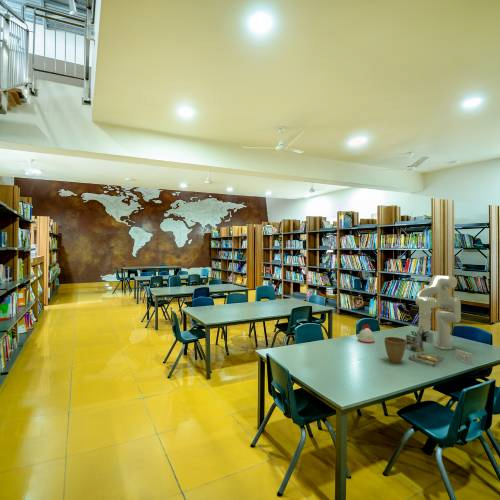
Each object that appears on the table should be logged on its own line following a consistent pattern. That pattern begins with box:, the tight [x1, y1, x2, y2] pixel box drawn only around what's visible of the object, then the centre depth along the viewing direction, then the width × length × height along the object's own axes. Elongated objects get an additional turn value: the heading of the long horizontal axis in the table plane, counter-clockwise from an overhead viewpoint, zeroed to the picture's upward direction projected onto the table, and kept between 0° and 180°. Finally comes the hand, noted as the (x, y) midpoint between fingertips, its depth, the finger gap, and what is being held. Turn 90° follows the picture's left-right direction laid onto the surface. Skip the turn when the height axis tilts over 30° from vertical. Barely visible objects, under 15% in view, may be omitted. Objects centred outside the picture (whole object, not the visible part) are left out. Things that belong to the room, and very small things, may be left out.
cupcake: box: [357, 323, 376, 345], centre depth 280 cm, size 14×14×15 cm
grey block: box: [416, 330, 434, 345], centre depth 230 cm, size 3×10×7 cm, turn 38°
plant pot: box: [383, 336, 407, 364], centre depth 231 cm, size 15×15×16 cm
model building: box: [405, 330, 425, 353], centre depth 257 cm, size 9×9×15 cm
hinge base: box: [408, 352, 444, 367], centre depth 233 cm, size 18×19×3 cm
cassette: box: [455, 348, 473, 366], centre depth 229 cm, size 12×2×8 cm, turn 19°
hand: (424, 340), depth 230 cm, fingers closed on grey block, 3 cm apart
